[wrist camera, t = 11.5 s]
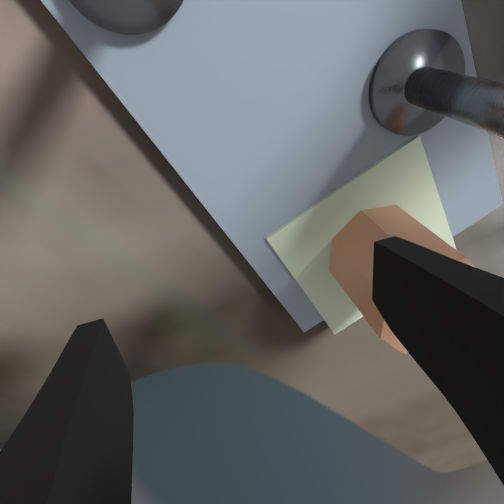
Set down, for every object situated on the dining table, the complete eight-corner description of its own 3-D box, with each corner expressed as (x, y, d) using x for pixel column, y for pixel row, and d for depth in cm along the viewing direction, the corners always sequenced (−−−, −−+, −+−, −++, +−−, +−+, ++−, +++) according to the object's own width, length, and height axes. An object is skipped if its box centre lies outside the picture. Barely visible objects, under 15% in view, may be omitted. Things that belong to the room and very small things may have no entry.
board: (-313, -454, 9) (-350, -492, 8) (227, -1004, 7) (238, -1102, 7) (299, 324, 26) (304, 332, 25) (492, 199, 24) (502, 204, 24)
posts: (40, 4, 13) (-68, 11, 6) (58, -167, 11) (-69, -483, 4) (423, 143, 20) (602, 230, 13) (473, 50, 18) (720, 85, 11)
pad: (265, 237, 21) (266, 239, 20) (417, 134, 20) (419, 135, 20) (333, 332, 26) (334, 334, 25) (456, 253, 25) (458, 255, 25)
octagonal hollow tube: (420, 200, 22) (497, 253, 17) (404, 276, 24) (467, 338, 20) (334, 214, 21) (392, 274, 16) (327, 291, 23) (375, 360, 19)
